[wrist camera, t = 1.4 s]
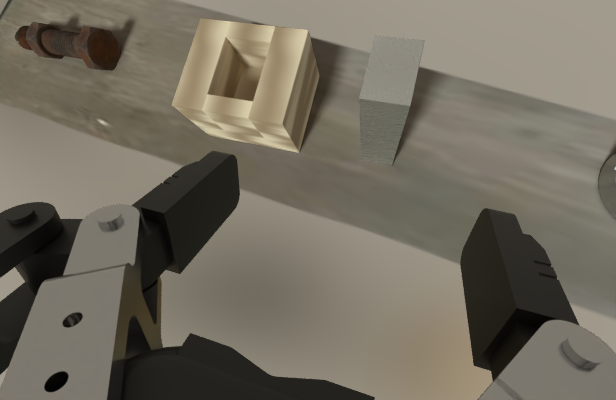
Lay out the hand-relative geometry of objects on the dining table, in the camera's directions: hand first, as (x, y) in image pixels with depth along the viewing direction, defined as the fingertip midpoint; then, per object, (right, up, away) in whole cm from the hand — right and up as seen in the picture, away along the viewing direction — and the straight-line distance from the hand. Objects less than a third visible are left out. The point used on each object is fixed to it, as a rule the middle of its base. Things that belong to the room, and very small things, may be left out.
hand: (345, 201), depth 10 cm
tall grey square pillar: (+7, +7, +25) cm, 27 cm away
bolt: (-35, +22, +36) cm, 55 cm away
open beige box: (-7, +12, +29) cm, 32 cm away
